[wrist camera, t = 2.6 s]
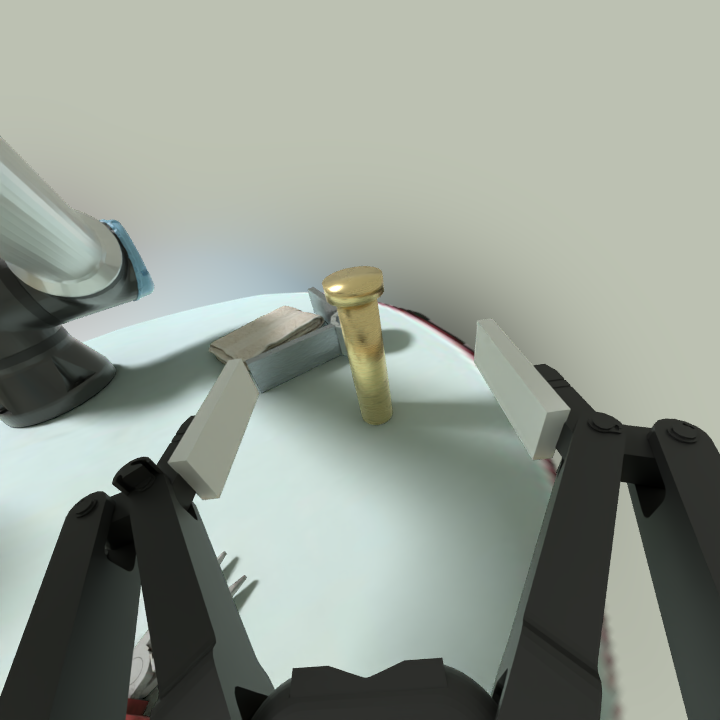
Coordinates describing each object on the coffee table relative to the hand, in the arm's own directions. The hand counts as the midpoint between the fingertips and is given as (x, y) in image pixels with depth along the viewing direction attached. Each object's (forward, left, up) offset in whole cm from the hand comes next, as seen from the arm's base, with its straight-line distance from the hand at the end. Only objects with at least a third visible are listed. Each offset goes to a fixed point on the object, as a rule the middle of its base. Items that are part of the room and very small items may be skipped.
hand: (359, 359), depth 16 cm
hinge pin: (-9, +5, -15) cm, 18 cm away
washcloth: (-36, 0, -16) cm, 39 cm away
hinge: (-29, +4, -15) cm, 33 cm away
